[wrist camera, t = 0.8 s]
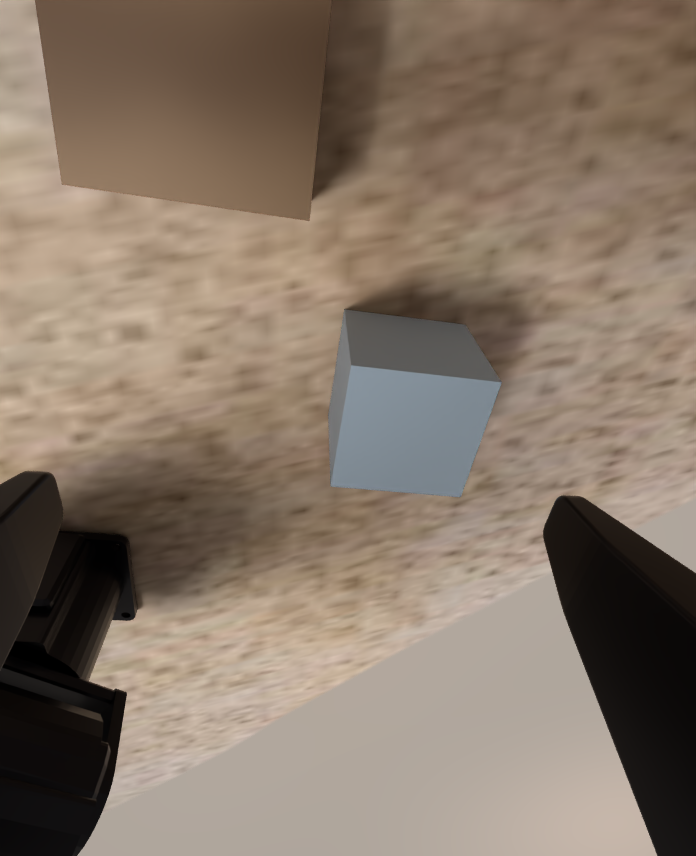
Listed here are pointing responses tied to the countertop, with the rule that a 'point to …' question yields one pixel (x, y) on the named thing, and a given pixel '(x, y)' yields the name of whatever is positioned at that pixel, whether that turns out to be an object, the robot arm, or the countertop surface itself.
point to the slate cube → (407, 404)
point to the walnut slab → (189, 98)
